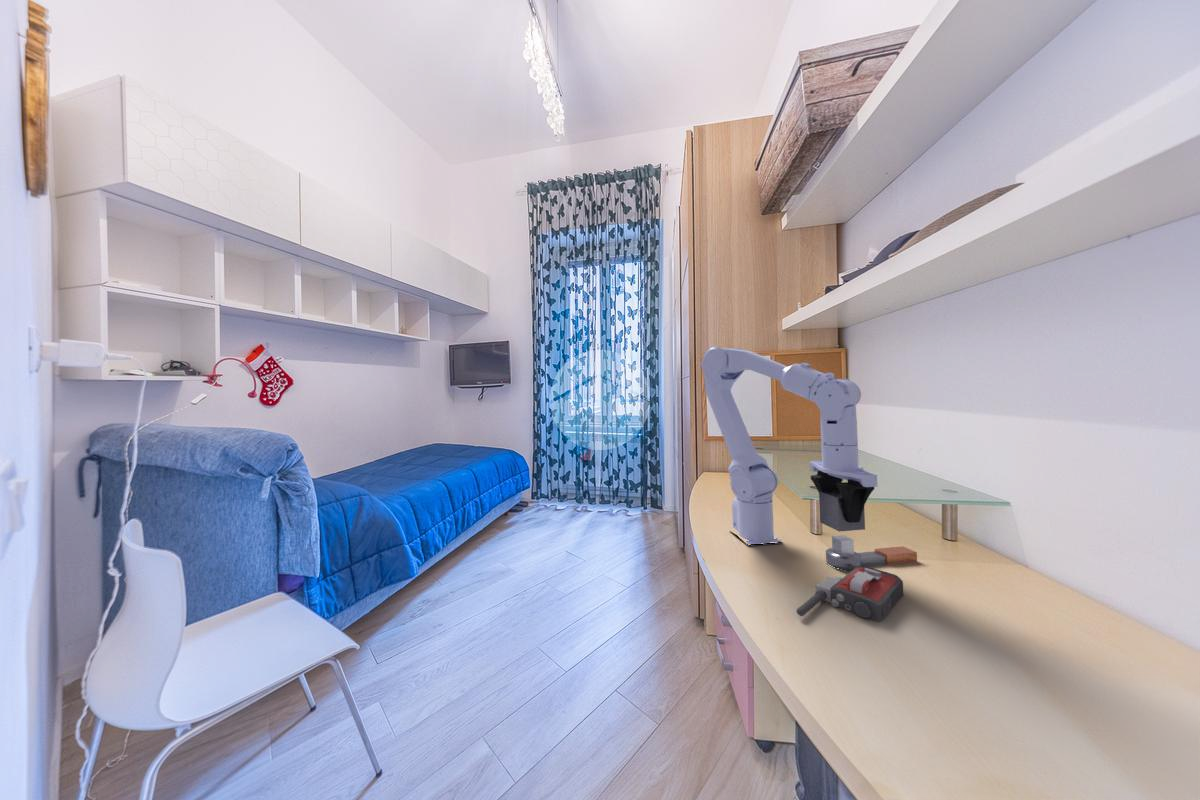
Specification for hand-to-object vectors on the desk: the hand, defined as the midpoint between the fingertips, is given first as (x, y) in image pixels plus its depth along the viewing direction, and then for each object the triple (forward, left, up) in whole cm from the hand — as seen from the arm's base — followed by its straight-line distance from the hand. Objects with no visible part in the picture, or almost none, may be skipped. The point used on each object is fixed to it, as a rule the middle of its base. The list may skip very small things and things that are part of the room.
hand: (841, 516), depth 70 cm
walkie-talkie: (+12, -8, -10) cm, 17 cm away
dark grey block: (0, 0, -2) cm, 2 cm away
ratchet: (0, +5, -9) cm, 10 cm away
